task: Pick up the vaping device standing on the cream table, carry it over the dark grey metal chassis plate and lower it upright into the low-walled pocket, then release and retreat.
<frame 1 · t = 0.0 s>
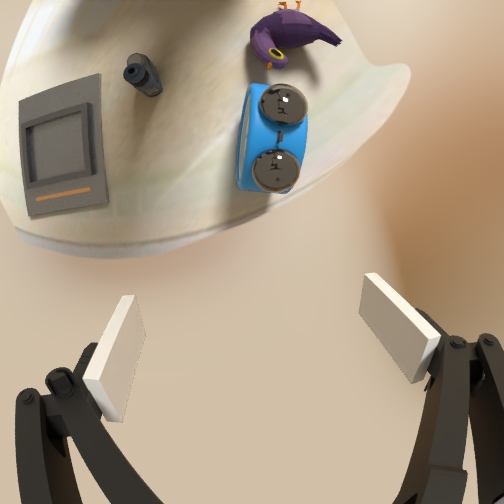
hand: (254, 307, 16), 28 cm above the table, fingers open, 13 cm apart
alarm clock: (259, 139, 39), on the table
chassis: (58, 146, 35), on the table
vaping device: (152, 82, 34), on the table
toy: (288, 39, 34), on the table
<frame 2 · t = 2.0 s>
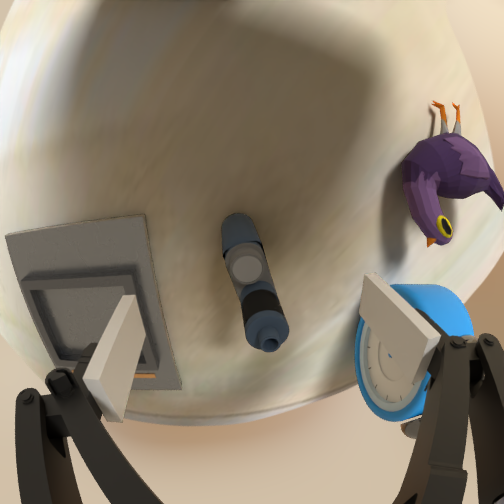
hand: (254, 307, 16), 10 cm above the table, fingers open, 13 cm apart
alarm clock: (380, 314, 30), on the table
chassis: (91, 317, 26), on the table
vaping device: (242, 239, 25), on the table
toy: (435, 166, 24), on the table
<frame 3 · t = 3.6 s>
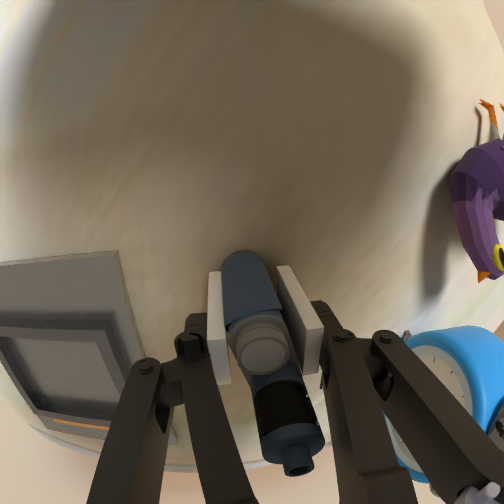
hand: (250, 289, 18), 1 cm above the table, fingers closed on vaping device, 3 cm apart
alarm clock: (408, 356, 24), on the table
chassis: (66, 367, 19), on the table
vaping device: (248, 283, 18), on the table, touching gripper
toy: (480, 178, 18), on the table
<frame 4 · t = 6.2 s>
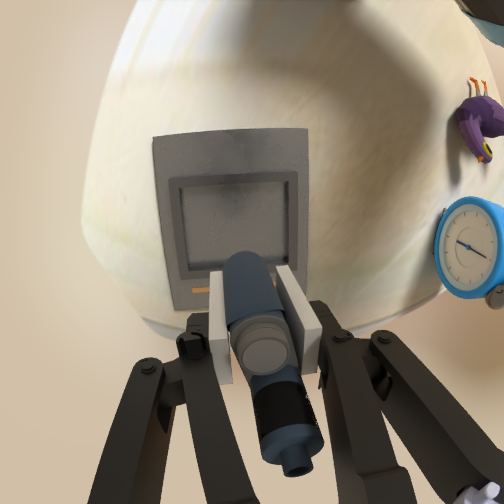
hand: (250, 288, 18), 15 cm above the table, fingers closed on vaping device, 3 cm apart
alarm clock: (447, 232, 36), on the table
chassis: (235, 222, 32), on the table
vaping device: (249, 283, 18), point 14 cm above the table, touching gripper
toy: (472, 119, 30), on the table
when the fingers open (3 cm above the table, at t = 8.3 s): vaping device drops 1 cm, resting on chassis.
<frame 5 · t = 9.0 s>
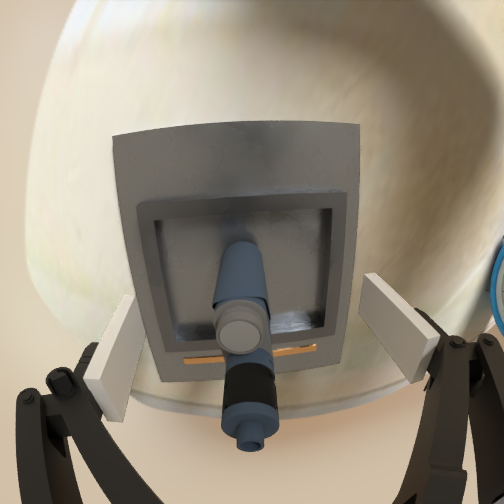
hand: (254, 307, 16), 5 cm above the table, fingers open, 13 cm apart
alarm clock: (502, 263, 25), on the table
chassis: (245, 268, 21), on the table
vaping device: (246, 272, 20), point 1 cm above the table, touching chassis
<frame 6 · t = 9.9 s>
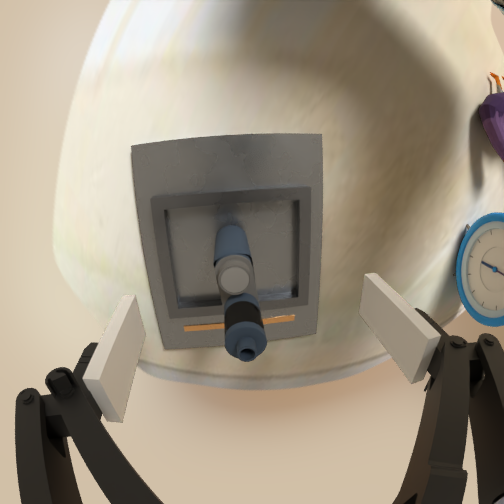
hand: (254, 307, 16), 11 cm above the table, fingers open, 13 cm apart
alarm clock: (468, 250, 31), on the table
chassis: (233, 249, 26), on the table
vaping device: (233, 250, 26), point 1 cm above the table, touching chassis
toy: (494, 119, 25), on the table
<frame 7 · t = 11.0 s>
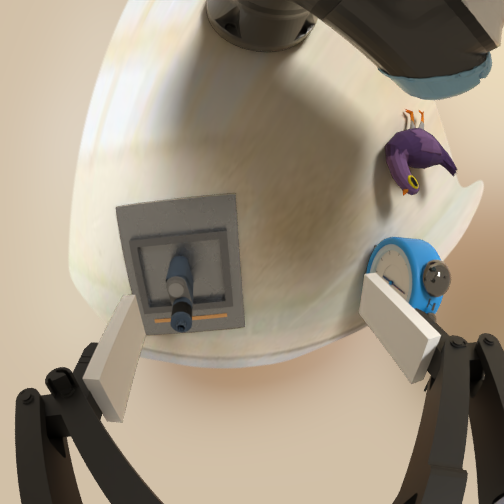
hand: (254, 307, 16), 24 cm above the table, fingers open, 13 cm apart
alarm clock: (380, 265, 45), on the table
chassis: (183, 269, 40), on the table
vaping device: (182, 271, 39), point 1 cm above the table, touching chassis
toy: (407, 151, 39), on the table
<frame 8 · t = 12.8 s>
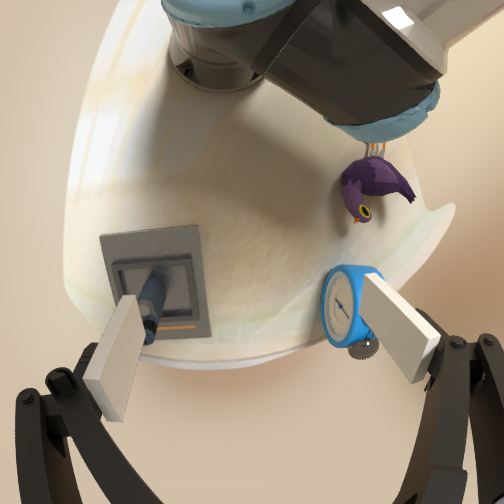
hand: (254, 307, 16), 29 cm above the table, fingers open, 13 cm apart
alarm clock: (337, 286, 50), on the table
chassis: (157, 288, 46), on the table
vaping device: (156, 289, 45), point 1 cm above the table, touching chassis
toy: (368, 176, 44), on the table
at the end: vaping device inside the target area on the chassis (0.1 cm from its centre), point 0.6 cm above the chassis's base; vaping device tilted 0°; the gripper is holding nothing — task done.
